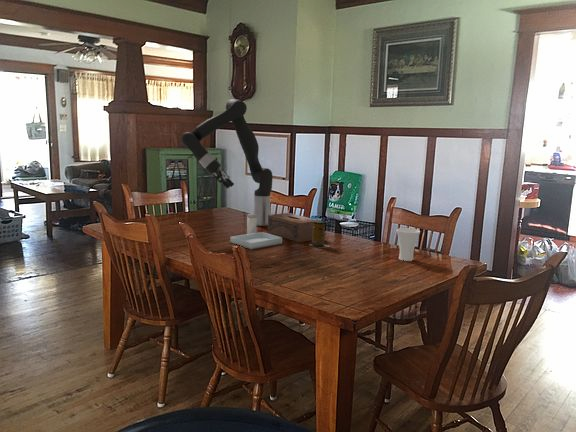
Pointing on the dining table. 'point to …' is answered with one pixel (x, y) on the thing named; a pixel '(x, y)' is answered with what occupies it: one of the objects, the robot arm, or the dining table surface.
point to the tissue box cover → (291, 226)
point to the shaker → (251, 223)
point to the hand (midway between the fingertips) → (230, 186)
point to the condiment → (318, 235)
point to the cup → (407, 242)
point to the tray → (256, 240)
